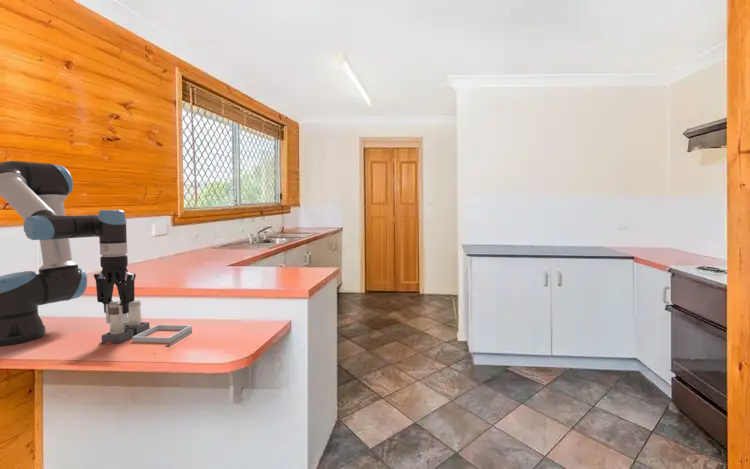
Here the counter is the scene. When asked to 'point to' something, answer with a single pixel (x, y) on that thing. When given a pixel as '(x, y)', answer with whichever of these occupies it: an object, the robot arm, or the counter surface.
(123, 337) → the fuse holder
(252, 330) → the counter surface
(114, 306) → the cylinder
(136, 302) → the cylinder
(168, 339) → the grey square frame
